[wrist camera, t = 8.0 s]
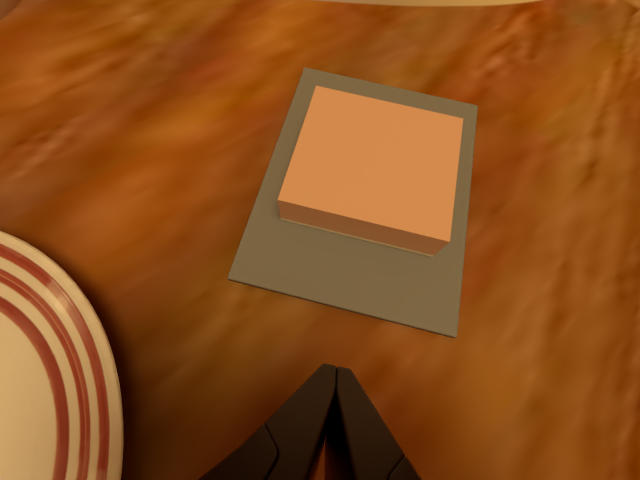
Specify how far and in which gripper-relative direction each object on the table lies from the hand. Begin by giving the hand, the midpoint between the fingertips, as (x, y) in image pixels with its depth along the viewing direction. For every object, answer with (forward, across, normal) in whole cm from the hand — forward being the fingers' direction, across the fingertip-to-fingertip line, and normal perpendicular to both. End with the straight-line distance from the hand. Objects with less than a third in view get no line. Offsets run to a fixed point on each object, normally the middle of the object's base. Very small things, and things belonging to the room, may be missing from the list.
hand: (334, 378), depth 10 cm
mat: (+16, 0, +3) cm, 16 cm away
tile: (+11, 0, +1) cm, 11 cm away
